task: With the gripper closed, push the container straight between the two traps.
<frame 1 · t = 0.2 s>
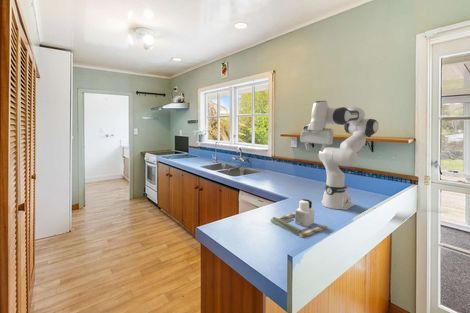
hand: (314, 151, 146), 38 cm above the counter, tool pointing down, fingers open, 8 cm apart
container: (304, 223, 135), on the counter
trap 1: (286, 221, 136), on the counter
tan flat bar frame: (298, 224, 132), on the counter
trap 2: (305, 230, 125), on the counter
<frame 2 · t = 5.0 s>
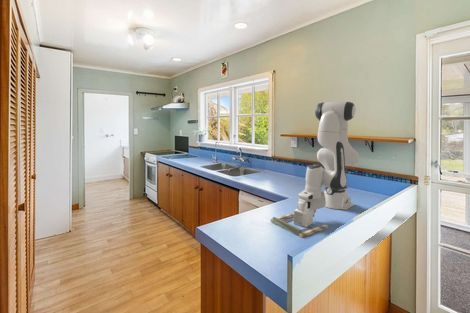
hand: (311, 217, 137), 2 cm above the counter, tool pointing down, fingers closed
container: (303, 223, 134), on the counter, touching gripper
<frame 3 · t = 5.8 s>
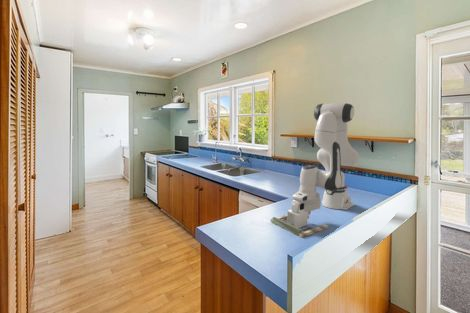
hand: (305, 218, 135), 2 cm above the counter, tool pointing down, fingers closed
container: (297, 224, 132), on the counter, touching gripper
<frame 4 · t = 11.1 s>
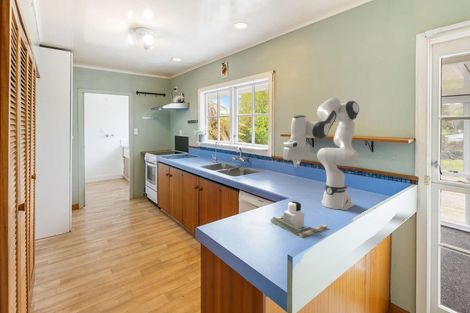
hand: (296, 166, 145), 29 cm above the counter, tool pointing down, fingers closed
container: (293, 226, 131), on the counter
at the end: container inside the target area (1.5 cm from its centre), on the counter; container touching counter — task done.
